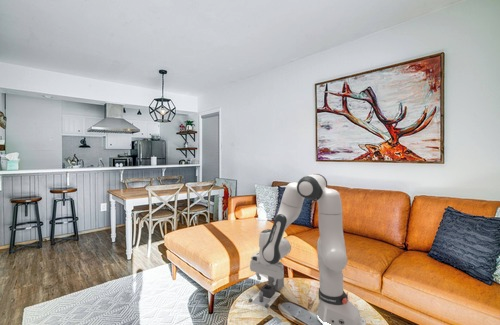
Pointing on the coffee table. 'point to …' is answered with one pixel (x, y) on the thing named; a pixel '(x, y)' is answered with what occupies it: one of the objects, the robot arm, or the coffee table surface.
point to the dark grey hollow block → (268, 291)
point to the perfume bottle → (278, 284)
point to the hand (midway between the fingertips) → (266, 282)
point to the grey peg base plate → (263, 299)
